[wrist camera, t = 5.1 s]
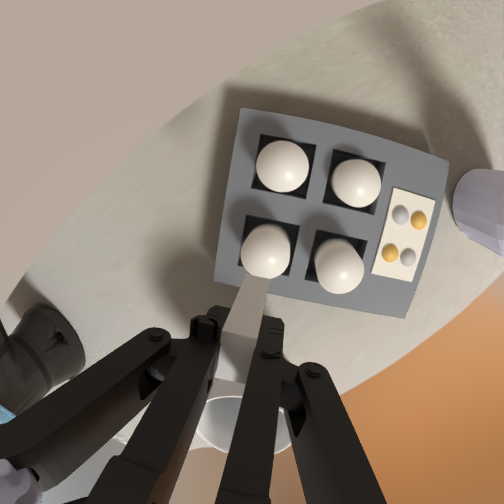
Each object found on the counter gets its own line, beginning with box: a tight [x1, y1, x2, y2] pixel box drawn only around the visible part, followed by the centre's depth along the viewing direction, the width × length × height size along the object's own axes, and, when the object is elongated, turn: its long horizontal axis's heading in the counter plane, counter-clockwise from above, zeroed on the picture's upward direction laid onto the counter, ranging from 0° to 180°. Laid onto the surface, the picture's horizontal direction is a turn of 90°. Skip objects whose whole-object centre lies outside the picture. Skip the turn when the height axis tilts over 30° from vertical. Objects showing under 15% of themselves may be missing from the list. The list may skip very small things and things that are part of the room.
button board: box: [213, 108, 450, 319], centre depth 29 cm, size 22×18×4 cm
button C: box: [314, 236, 364, 294], centre depth 28 cm, size 4×4×4 cm
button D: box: [329, 159, 381, 207], centre depth 27 cm, size 4×4×4 cm
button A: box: [241, 222, 290, 279], centre depth 29 cm, size 4×4×4 cm
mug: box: [196, 351, 291, 454], centre depth 32 cm, size 15×11×13 cm
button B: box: [256, 141, 309, 192], centre depth 26 cm, size 4×4×4 cm
